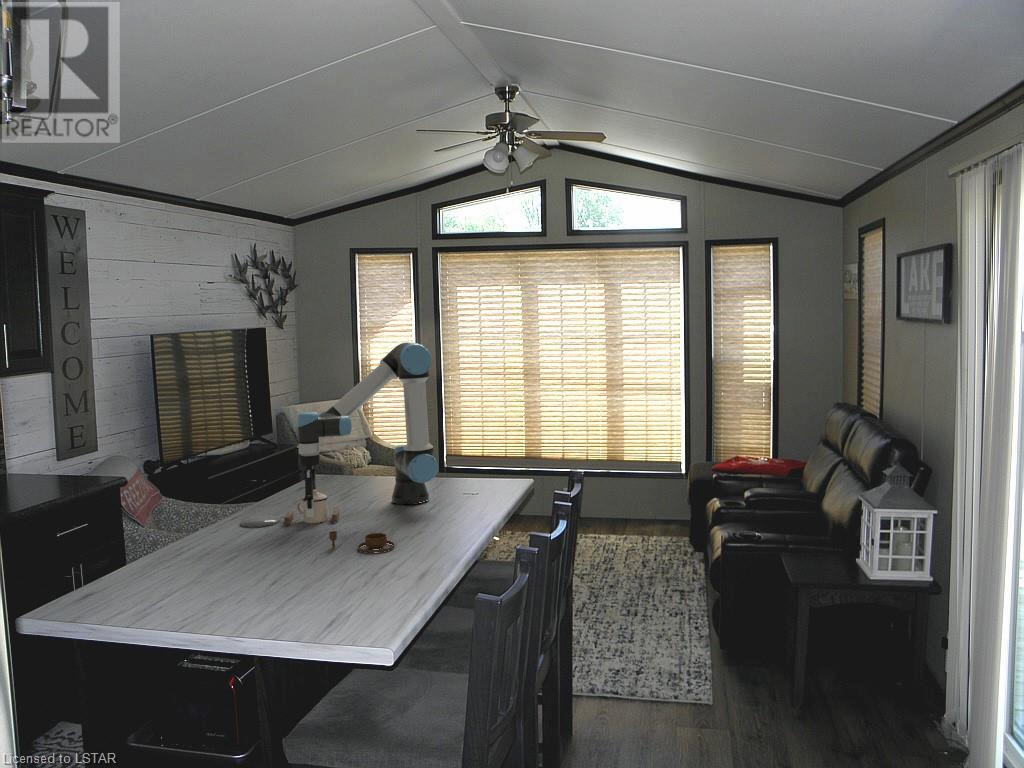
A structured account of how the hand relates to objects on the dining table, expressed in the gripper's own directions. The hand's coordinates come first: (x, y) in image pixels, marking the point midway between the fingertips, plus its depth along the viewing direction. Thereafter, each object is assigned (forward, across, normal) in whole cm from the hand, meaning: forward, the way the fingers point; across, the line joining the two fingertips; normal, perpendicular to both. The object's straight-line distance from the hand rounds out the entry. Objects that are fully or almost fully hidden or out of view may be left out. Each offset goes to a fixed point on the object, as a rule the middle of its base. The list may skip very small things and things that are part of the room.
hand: (311, 513), depth 310 cm
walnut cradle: (+3, 0, 0) cm, 3 cm away
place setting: (+4, +40, +21) cm, 45 cm away
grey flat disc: (+3, -2, -19) cm, 19 cm away
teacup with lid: (+3, -1, 0) cm, 3 cm away
